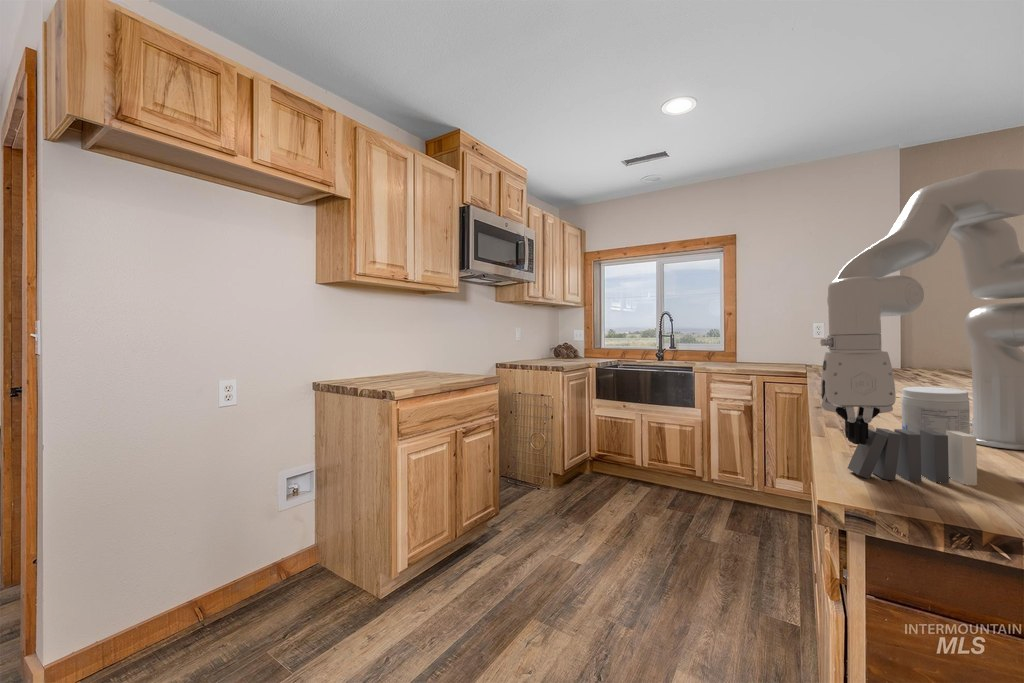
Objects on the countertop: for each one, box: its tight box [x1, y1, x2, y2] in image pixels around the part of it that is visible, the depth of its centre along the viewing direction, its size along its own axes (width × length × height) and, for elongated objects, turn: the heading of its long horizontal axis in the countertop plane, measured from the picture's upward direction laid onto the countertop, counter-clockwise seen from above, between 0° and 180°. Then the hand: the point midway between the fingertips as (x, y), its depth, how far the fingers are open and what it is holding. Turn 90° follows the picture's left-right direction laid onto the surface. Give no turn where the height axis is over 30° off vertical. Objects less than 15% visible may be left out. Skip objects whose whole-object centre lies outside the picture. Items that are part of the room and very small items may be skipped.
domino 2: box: [872, 427, 901, 481], centre depth 77 cm, size 4×2×8 cm, turn 163°
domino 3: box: [893, 428, 922, 483], centre depth 76 cm, size 4×2×8 cm, turn 163°
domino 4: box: [920, 430, 950, 484], centre depth 75 cm, size 4×2×8 cm, turn 163°
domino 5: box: [946, 431, 978, 486], centre depth 74 cm, size 4×2×8 cm, turn 163°
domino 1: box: [847, 428, 888, 480], centre depth 78 cm, size 4×2×8 cm, turn 163°
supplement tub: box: [901, 386, 971, 435], centre depth 84 cm, size 10×10×15 cm
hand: (856, 442), depth 78 cm, fingers closed
